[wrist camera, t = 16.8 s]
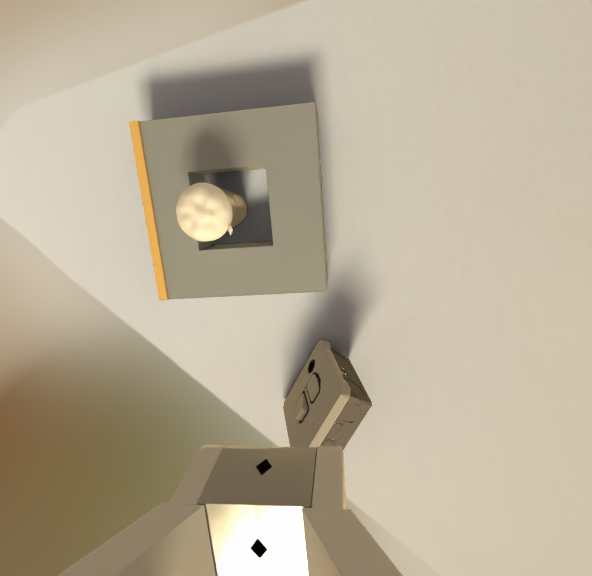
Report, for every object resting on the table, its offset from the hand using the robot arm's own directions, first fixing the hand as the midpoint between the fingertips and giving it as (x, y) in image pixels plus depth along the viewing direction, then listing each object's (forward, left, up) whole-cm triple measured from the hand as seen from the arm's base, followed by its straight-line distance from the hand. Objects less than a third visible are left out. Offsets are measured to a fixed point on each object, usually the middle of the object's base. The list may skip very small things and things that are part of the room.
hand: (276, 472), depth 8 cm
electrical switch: (+1, +14, -31) cm, 34 cm away
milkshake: (+9, -5, -31) cm, 32 cm away
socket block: (+8, -5, -31) cm, 32 cm away
